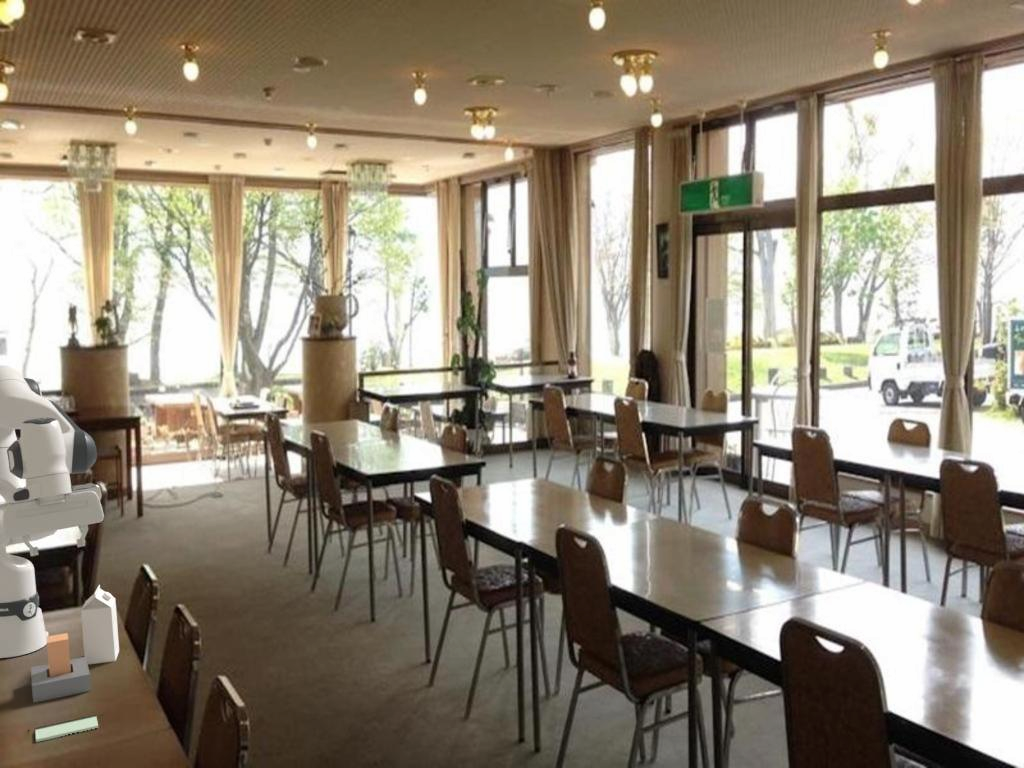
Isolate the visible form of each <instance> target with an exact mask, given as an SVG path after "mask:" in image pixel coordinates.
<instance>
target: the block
mask: <svg viewBox="0 0 1024 768" xmlns="http://www.w3.org/2000/svg"><path fill="white" fill-rule="evenodd" d="M46 638H47V644H46V650H47V651H46V652H47V658H48V659H47V660H48V663H47V664H49V675H50V677H52V676H57V675H62V674H67V673H71V665H70V659H71V655H70V641H69V633H68V632H65V633H59V634H53V635H49V636H47V637H46Z"/></svg>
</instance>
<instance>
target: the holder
mask: <svg viewBox="0 0 1024 768" xmlns="http://www.w3.org/2000/svg"><path fill="white" fill-rule="evenodd" d="M70 665H71V673H67V674H62V675H57V676H52V677H50V675H49V663H45V664H40V665H36V666H31V667H30V676H31V691H32V703H33V704H34V703H40V702H45V701H49V700H55V699H58V698H64V697H67V696H74V695H78V694H82V693H88V692H90V691H92V685H91V673H90V669H89V664H88V663H87V658H86V657H84V656H82V657H76V658H72V659H71V658H70Z"/></svg>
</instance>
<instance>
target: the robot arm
mask: <svg viewBox="0 0 1024 768" xmlns="http://www.w3.org/2000/svg"><path fill="white" fill-rule="evenodd" d="M16 430H20V437H19V438H18V437H17V434H16ZM97 451H98V450H97V446H96V442H95V441H94V439H93V437H92V436H91V435H90V434H88V433H87V432H86V431H85V430H83V429H82V428H80V427H79V426H78V425H77V424H76V422H74V420H73V419H72V418H71V417H70V416H69V415H68V414H67V413H66V412H65V411H64V410H63V409H62V408H61V407H60V406H59V404H58V403H56V402H55V401H53V400H51V399H47V398H45V397H43V393H42V390H41V389H40V386H39V384H38V382H37V381H35V379H33V378H28V377H23V376H22V375H21V373H19V372H18V371H17V370H16V369H15V368H13V367H12V366H9V365H2V364H1V365H0V496H1V497H2V498H3V499H4V501H5V502H4V503H0V659H4V658H5V659H6V658H14V657H19V656H23V655H26V654H30V653H33V652H35V651H38V650H40V649H42V648H43V647H45V646H47V638H46V637H47V636H50V635H49V631H47V630H46V627H45V621H44V617H43V612H42V609H41V608H40V607H39V606H40V596H39V593H38V591H37V584H36V575H35V567H34V564H33V563H32V561H30V560H29V559H27V558H25V557H21V556H18V555H14V554H10V553H8V552H7V547H8V546H9V547H10V546H12V545H17V544H23V543H24V545H25V546H26V547H27V548H28V549H29V554H30V557H35V556H39V551H38V550H39V548H38V546H34V545H32V544H31V543H30V542H36V541H39V540H41V539H45V538H47V537H49V536H53V535H54V534H56V532H57V531H58V530H59V531H60V530H64V529H69V528H75V527H79V528H80V531H81V532H82V533H81V535H80V538H78V539H76V540H75V541H76V546H77V548H81V547H85V546H86V541H85V540H86V539H85V538H86V536H87V534H88V532H89V525H92V524H93V525H94V524H97V523H102V521H103V520H104V518H105V514H104V511H103V509H104V508H103V506H102V504H101V500H102V497H103V495H102V490H101V487H100V486H99V485H97V484H94V483H92V482H87V483H85V484H84V483H83V484H77V485H76V484H75V485H74V484H73V485H72V482H71V476H70V474H72V475H77V474H85V473H87V472H88V471H89V470H90V469H91V468H92V467H93V466H94V464H95V463H96V461H97V460H98V459H97V458H98V452H97Z"/></svg>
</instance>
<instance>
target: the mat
mask: <svg viewBox="0 0 1024 768" xmlns="http://www.w3.org/2000/svg"><path fill="white" fill-rule="evenodd" d="M98 722H99V721H98V717H97V714H93V715H89V716H84V717H79V718H74V719H71V720H67V721H66V720H65V721H62V722H57V723H52V724H49V725H44V726H39V727H35V729H34V730H35V731H34V732H35V742H36V743H39V742H43V741H49V740H52V739H57V738H62V737H66V736H69V735H68V734H70V735H73V734H72V733H75V734H78V733H77V732H79V733H83V731H84V732H88V731H91V729H92V730H95V728H97V729H99V723H98ZM87 730H88V731H87ZM65 735H66V736H65ZM61 736H62V737H61Z"/></svg>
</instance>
